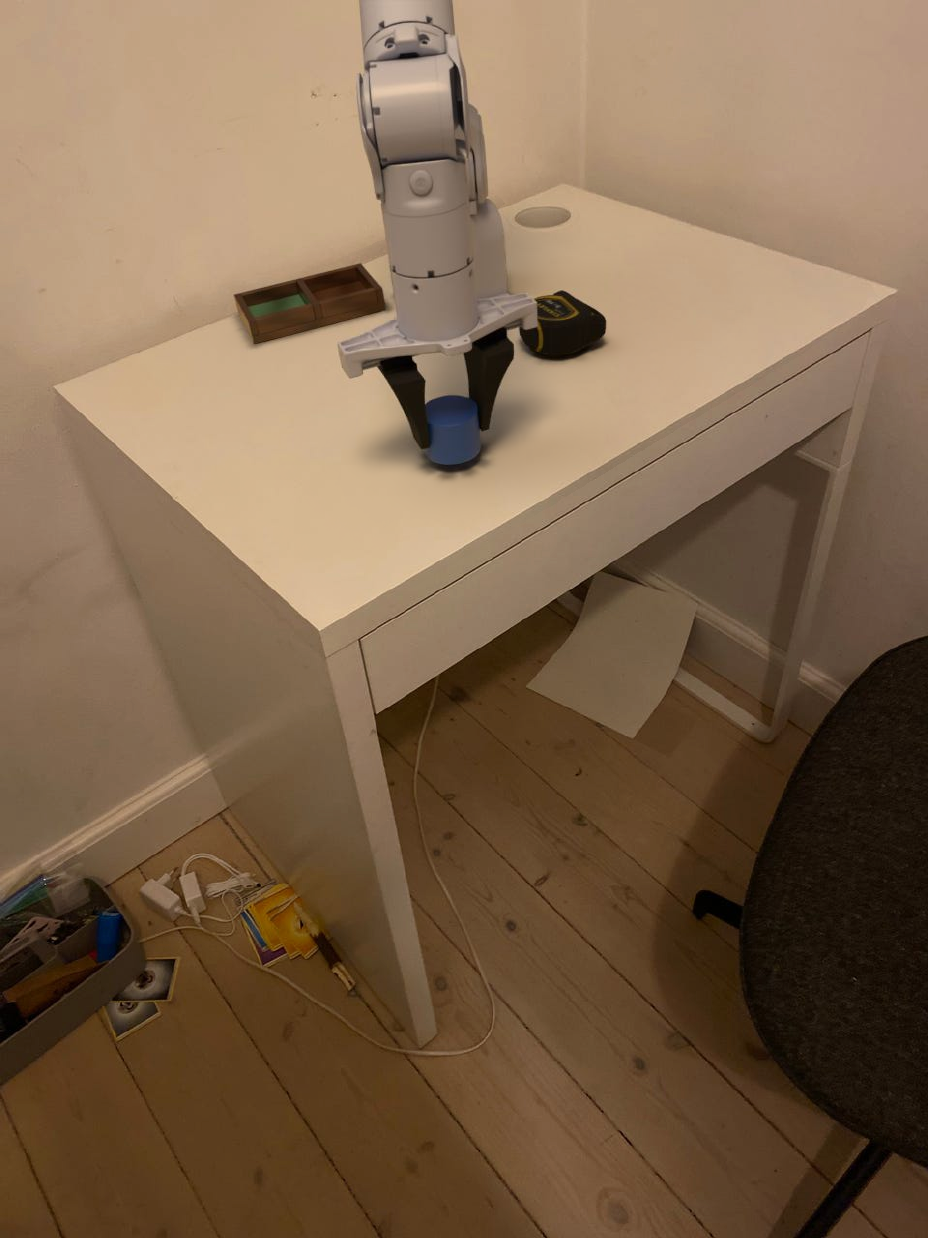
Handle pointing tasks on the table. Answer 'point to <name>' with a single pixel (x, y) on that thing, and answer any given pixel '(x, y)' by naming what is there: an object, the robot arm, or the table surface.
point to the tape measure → (563, 325)
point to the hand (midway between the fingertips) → (450, 433)
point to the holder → (309, 302)
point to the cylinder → (452, 429)
